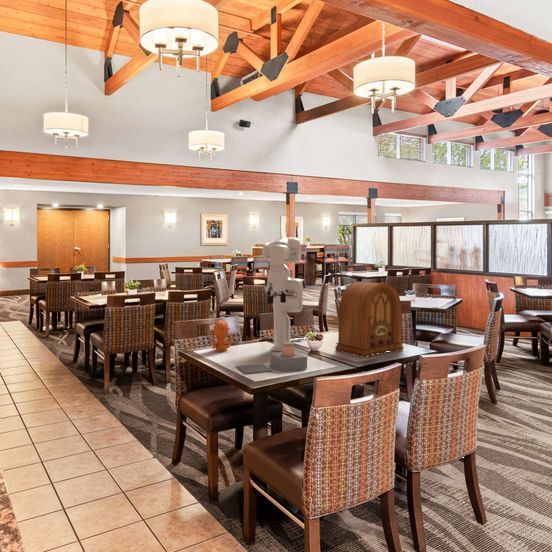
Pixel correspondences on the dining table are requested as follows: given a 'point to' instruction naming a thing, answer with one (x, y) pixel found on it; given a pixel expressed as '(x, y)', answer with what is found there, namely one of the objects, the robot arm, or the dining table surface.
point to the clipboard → (290, 338)
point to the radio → (369, 319)
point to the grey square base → (288, 361)
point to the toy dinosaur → (221, 336)
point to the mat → (254, 368)
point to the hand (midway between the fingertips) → (276, 303)
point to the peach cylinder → (288, 348)
